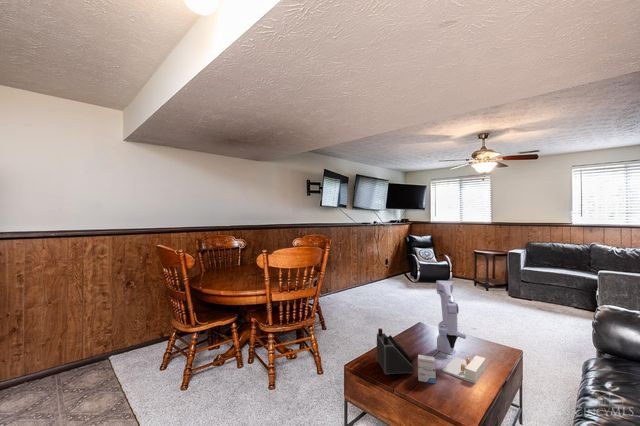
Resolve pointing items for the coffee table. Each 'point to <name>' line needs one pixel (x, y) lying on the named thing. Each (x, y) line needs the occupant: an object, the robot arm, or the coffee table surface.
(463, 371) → the knob
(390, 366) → the dark wedge stand
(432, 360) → the ink box
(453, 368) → the panel mount
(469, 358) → the knob
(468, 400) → the coffee table surface
